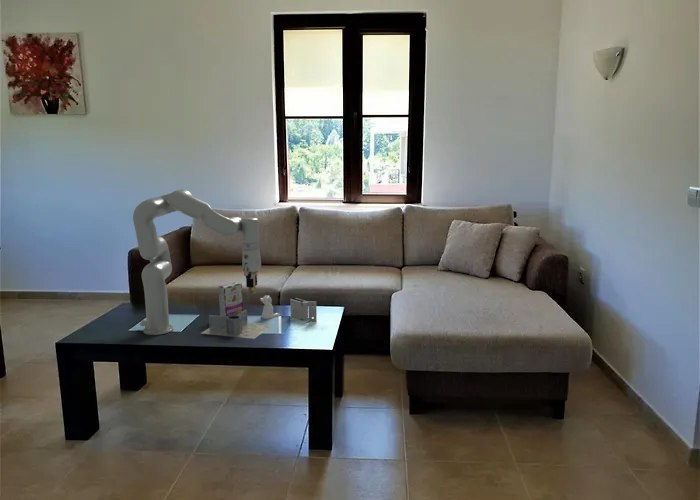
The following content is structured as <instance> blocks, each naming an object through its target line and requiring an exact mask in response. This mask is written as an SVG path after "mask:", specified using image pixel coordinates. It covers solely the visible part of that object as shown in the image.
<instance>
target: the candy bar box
mask: <svg viewBox="0 0 700 500" xmlns="http://www.w3.org/2000/svg"><path fill="white" fill-rule="evenodd" d="M217 288H218V303H219V314H220V315H219V316H232V315H238V314H239V313H241V312H242V311H244V300H243V299H244V298H243V284H242V282H238V281H235V282H231V283H227V284H222V285H219V286H218V287H217Z"/></svg>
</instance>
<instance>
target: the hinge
mask: <svg viewBox="0 0 700 500" xmlns="http://www.w3.org/2000/svg"><path fill="white" fill-rule="evenodd" d="M289 300H290V301H289V303H290V306H289V307H290V309H289V310H290V318H293V319H297V320H299V321H303V322H306V321H307V322H306V324H308V323H310V322H311V323H317V320H318V319H317V311H318V310H317V301H311V300H310V301H309V300H304V299H301V298H297V297H292V298H290V299H289Z"/></svg>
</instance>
